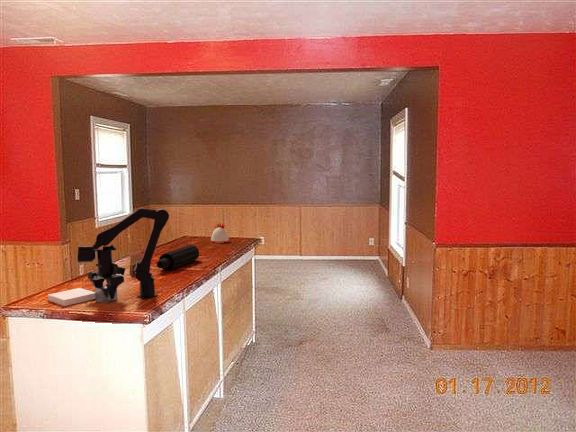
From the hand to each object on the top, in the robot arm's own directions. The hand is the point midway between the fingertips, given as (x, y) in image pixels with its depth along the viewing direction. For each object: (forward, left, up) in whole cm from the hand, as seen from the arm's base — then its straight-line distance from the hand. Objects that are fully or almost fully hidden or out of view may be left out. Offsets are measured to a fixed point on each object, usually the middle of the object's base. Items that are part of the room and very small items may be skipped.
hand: (106, 297), depth 191 cm
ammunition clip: (+36, -39, -2) cm, 53 cm away
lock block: (0, 0, -2) cm, 2 cm away
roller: (+31, -63, -2) cm, 71 cm away
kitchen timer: (+78, -142, -2) cm, 162 cm away
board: (+13, +8, -1) cm, 15 cm away
